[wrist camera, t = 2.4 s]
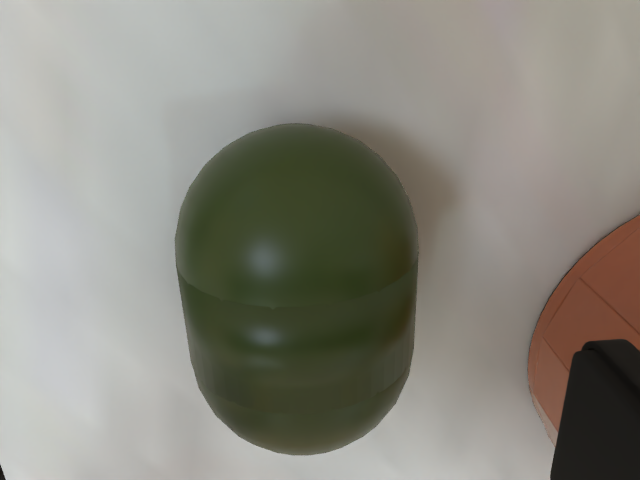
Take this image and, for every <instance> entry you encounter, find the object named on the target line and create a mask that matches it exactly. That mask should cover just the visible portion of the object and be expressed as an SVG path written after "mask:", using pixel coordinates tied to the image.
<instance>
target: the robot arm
mask: <svg viewBox="0 0 640 480" xmlns="http://www.w3.org/2000/svg"><path fill="white" fill-rule="evenodd" d="M550 479H551V480H640V351H639V350H638V349H637V348H636V347H635V346H634V345H633V344H632V343H630V342H629V341H628V340H625V339H611V340H597V341H588V342H586V343H585V344H584V345H583V346H582V349H581V351H577V352H575V353H574V355H573V358H572V362H571V367H570V372H569V378H568V383H567V388H566V394H565V399H564V404H563V410H562V415H561V420H560V426H559V431H558V436H557V442H556V447H555V452H554V458H553V463H552V468H551V475H550ZM0 480H6V479H5V477H4V474H3V471H2V468H1V465H0Z"/></svg>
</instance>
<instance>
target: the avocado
mask: <svg viewBox="0 0 640 480" xmlns="http://www.w3.org/2000/svg"><path fill="white" fill-rule="evenodd" d="M418 249H419V248H418V231H417V224H416V221H415V217H414V214H413V210H412V207H411V203H410V200H409V197H408V195H407V193H406V192H405V190H404V188H403V186H402V184H401V182H400V180H399V178H398V177H397V176H396V174H395V173H394V172H393V171H392V170H391V169H390V167H389V166H388V165H387V164H386V163H385V162H384V160H383V159H382V158H381V157H380V156H379V155H378V154H376V153H375V152H374V151H372V150H371V149H370V148H368V147H367V146H366V145H364V144H363V143H362V142H360V141H358V140H357V139H355V138H352V137H350V136H348V135H346V134H344V133H341V132H339V131H337V130H334V129H331V128H326V127H321V126H315V125H309V124H282V125H276V126H272V127H268V128H264V129H261V130H257V131H254V132H251V133H249V134H246V135H245V136H243V137H241V138H239V139H238V140H236V141H234V142H232V143H230V144H229V145H227V146H226V147H224V148H223V149H222V150H221V151H220V152H219V153H217V154H216V155H215V156H214V157H213V158H212V159H211V160H210V161H209V162H207V164H206V165H205V166H204V167H203V169H202V170H201V172H200V173H199V174H198V176H197V177H196V179H195V180H194V181H193V183H192V184H191V186H190V187H189V190H188V192H187V194H186V197H185V199H184V201H183V204H182V206H181V209H180V214H179V219H178V225H177V230H176V236H175V255H176V267H177V274H178V280H179V287H180V293H181V300H182V306H183V313H184V319H185V326H186V332H187V338H188V345H189V351H190V358H191V363H192V366H193V369H194V372H195V376H196V380H197V383H198V387H199V389H200V391H201V392H202V394H203V396H204V397H205V399H206V401H207V403H208V404H209V406H210V407H211V409H212V410H213V412H214V413H215V415H216V416H217V417H218V418H219V419H220V420H221V421H222V422H223V423H225V424H226V425H227V426H228V427H229V428H230V429H231V430H232V431H233V432H234V433H236V434H237V435H238V436H239V437H241V438H243V439H244V440H246V441H248V442H250V443H252V444H254V445H256V446H259V447H262V448H264V449H267V450H270V451H273V452H276V453H282V454H288V455H314V454H321V453H326V452H330V451H333V450H336V449H339V448H342V447H344V446H346V445H348V444H350V443H352V442H354V441H355V440H357V439H359V438H361V437H363V436H364V435H366V434H367V433H368V432H369V431H371V430H372V429H373V428H375V427H376V426H377V425H378V424H379V422H380V421H381V420H382V419H383V418H384V417H385V415H386V414H387V413H388V412H389V411H390V409H391V408H392V407H393V406H394V405H395V404H396V402H397V400H398V397H399V395H400V393H401V391H402V389H403V387H404V384H405V382H406V380H407V378H408V376H409V372H410V366H411V360H412V354H413V349H414V333H415V313H416V293H417V273H418V253H419V252H418Z"/></svg>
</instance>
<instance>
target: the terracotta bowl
mask: <svg viewBox="0 0 640 480" xmlns="http://www.w3.org/2000/svg"><path fill="white" fill-rule="evenodd" d="M611 339H625V340H628V341H629V342H630V343H632V344H633V345H634V346H635V347H636V348H637V349H638V350H639V351H640V215H638V216H637V217H635V218H633V219H632V220H630V221H628V222H627V223H625V224H623V225H622V226H620V227H618V228H617V229H616V230H614V231H613V232H612V233H610V234H609V235H608V236H606V237H605V238H604V239H602V240H601V241H600V242H598V243H597V244H596V245H595V246H594V247H593V248H592V249H590V250H589V251H588V252H587V253H586V254H585V255H584V256H583V257H582V258H581V259H580V260H579V261H578V262H577V263H576V264H575V265H574V266H573V268H572V269H571V270H570V271H569V272H568V273H567V274H566V276H565V277H564V278H563V279H562V281H561V282H560V284H559V285H558V286H557V288H556V289H555V291H554V292H553V294H552V295H551V296H550V298H549V300H548V302H547V304H546V306H545V308H544V309H543V311H542V313H541V315H540V318H539V320H538V323H537V325H536V328H535V331H534V333H533V337H532V342H531V346H530V350H529V359H528V381H529V389H530V393H531V397H532V401H533V404H534V406H535V408H536V410H537V412H538V414H539V417H540V418H541V420H542V422H543V423H544V425H545V428H546V431H547V434H548V437H549V438H550V440H551V442H552V443H553V445H554V446H555V447H556V442H557V436H558V431H559V426H560V420H561V415H562V410H563V404H564V399H565V394H566V388H567V383H568V378H569V372H570V367H571V362H572V358H573V355H574V353H575V352H577V351H581V349H582V346H583V345H584V344H585V343H586V342H588V341H597V340H611Z"/></svg>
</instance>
